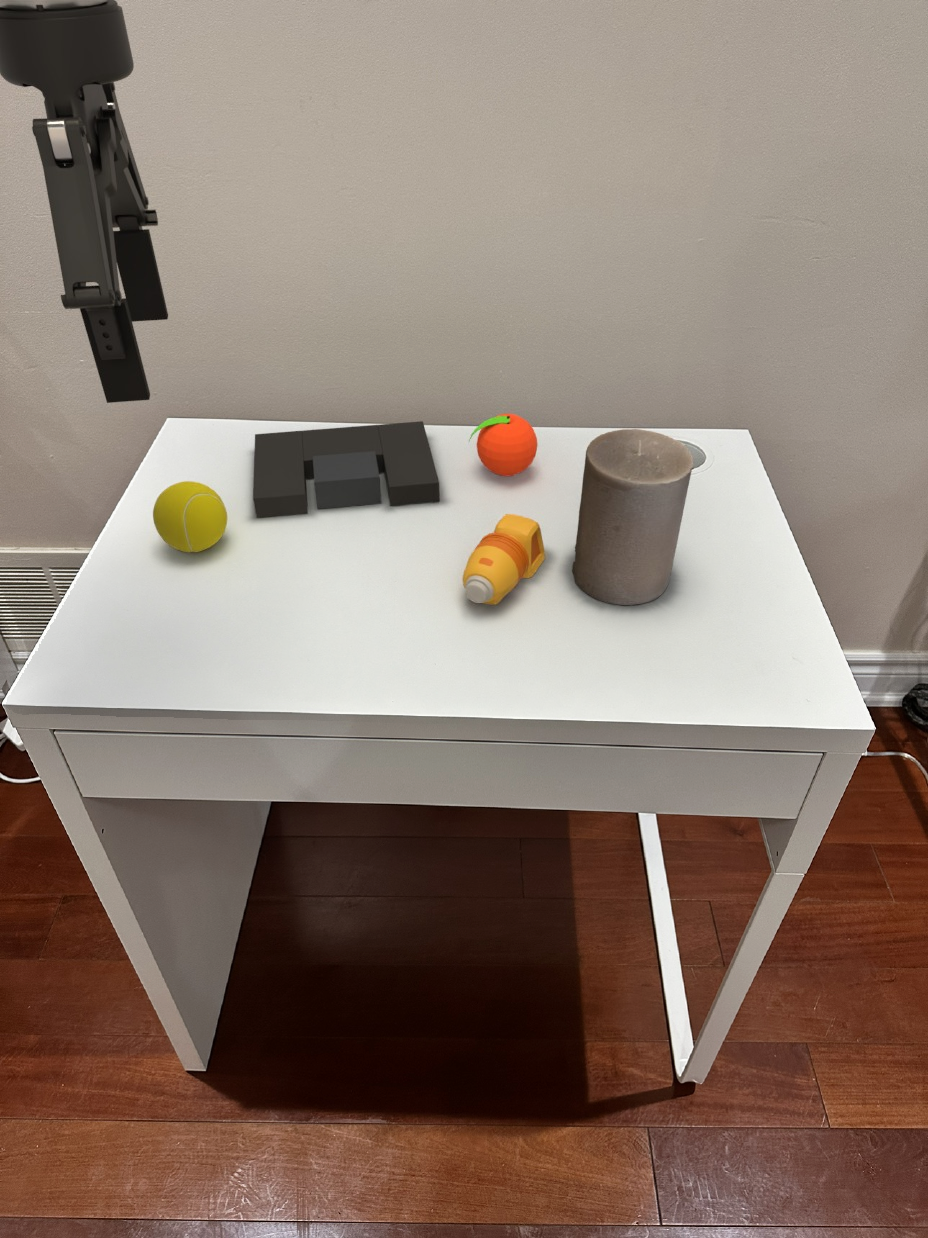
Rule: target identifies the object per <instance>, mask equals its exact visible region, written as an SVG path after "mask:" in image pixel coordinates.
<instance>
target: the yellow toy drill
mask: <svg viewBox="0 0 928 1238" xmlns="http://www.w3.org/2000/svg"><path fill="white" fill-rule="evenodd" d="M545 558H546V552H545V547H544V540H543V535H542V530H541V527H540V523H539V522H537V521H535V520H534V519H532V518H528V517H525V516H522V515H517V514H512V513H505V515H503V516H502V517H501V518H500V520H499V521H498V522H497V524H496V525H495V527H494V531H493V532H491V533H488V534H486V535H484V536H483V537H482V538H481V540H480V541H479V543H478V544H477V545H476V547H474V549H473V550H472V552H471V553H470V555H469V557H468V560H467V562H466V565H465V568H464V571H463V574H462V584H463V587H464V589H465V590H464V591H465V595H466V597H467V598H468V599H469V600H470V601H471V602H473V603H476V604H486V605H491V606H492V605H493V606H495V605H498V604H499V603H500V602H501V601H502V600H503V599H504V598H505V597H506V595H507V594H509V593H510V592H511V591H512V590H514V588H515V587H516V586H517V585H518V583H519V582H520V581H521V580H522V579H530V578H532V577H533V576H534V575H535V574H536V572H537V571H538V570H539V568H540V566H541V565H542V564H543V563H544V561H545V560H546V559H545Z"/></svg>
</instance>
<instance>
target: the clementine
mask: <svg viewBox="0 0 928 1238" xmlns="http://www.w3.org/2000/svg"><path fill="white" fill-rule="evenodd" d="M478 431H479V432H478ZM476 433H478V436H477V440H476V452H477V456H478V458H479V460H480V462H481V463H482V465H483V466H484V467H485V468H486V469H487V470H488V471H490V472H491V473H493V474H496V475H498V476H503V477H512V476H515V475H519V474H520V473H523V472H524V471H526V469H528V468H529V467H530V466H531V464H532V463H533V461H534V460H535V457H536V455H537V450H538V438H537V434H536V432H535V429H534V428H533V427H532V425H531V424H530V423H529V422H528V421H527V420H526V419H525V418H522V417H521V416H520V415H518V414H517V415H516V414H513V413H501V414H498V415H496V416H494V417H491V418H488V419H487V420H485V421H483V422H481V423H480V424H479V425H478V426H477V427H476V428H475V429H474V430H473V431H472V433H471V434H470V437H469V439H468V442H470V441H471V439H472V437H473V436H474V435H475V434H476Z"/></svg>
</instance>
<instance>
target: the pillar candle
mask: <svg viewBox="0 0 928 1238" xmlns="http://www.w3.org/2000/svg"><path fill="white" fill-rule="evenodd" d="M585 450H586V451H585V459H584V467H583V474H582V484H581V494H580V502H579V510H578V522H577V531H576V538H575V545H574V561H573V563H572V567H571V573H572V576H573V578H574V582H575V584H576V585H577V586H578V587H579V588H580V590H582V591H583V592H584V593H586V594H587V595H589V596H591V597H592V598H594V599H596V600H599V601H600V602H605V603H608V604H615V605H620V606H621V605H622V606H635V605H642V604H646V603H649V602H651V601H653V600H657V599H658V598H659V597H660V596H662V595H663V594H664V593H665V592H666V590H667V588H668V586H669V584H670V578H671V574H672V570H673V569H672V568H673V565H674V559H675V556H676V555H675V554H676V550H677V545H678V542H679V535H680V531H681V526H682V521H683V516H684V509H685V506H686V502H687V501H686V500H687V495H688V489H689V485H690V481H691V475H692V472H693V468H694V461H695V460H694V457H693V455H692V453H691V451H690V450H689V449H688V447H687V445H686V444H685V443H684V442H682V441H681V440H678V439H677V440H676V439H674V438H673V437H671V436H668V435H665V434H663V433H660V432H657V431H652V430H646V429H639V428H627V429H626V428H623V429H617V430H612V431H608V432H605V433H602V434H599V435H598V436H597V437H595V438H594V439H592V440H591V441H590V443H589V444H588V446H587V447H586V449H585Z"/></svg>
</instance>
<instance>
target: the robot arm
mask: <svg viewBox="0 0 928 1238" xmlns="http://www.w3.org/2000/svg"><path fill="white" fill-rule="evenodd" d="M133 71H134V58H133V53H132V49H131V43H130V39H129V35H128V29H127V25H126V20H125V16H124V11H123V7H122V6H120V5H118V1H116V0H0V76H1V77H2V78H3V79H4V80H5V81H6V82H7V83H9V84H11V85H15V86H18V87H22V88H29V87H34V88H35V89H37V90H39V91H40V92H41V95H42V97H43V98H44V100H43V104H44V109H45V114H46V117H45V118H33V119H32V127H31V130H32V134H33V136H34V138H35V141H36V145H37V150H38V153H39V157H40V161H41V165H42V171H43V175H44V181H45V186H46V192H47V198H48V204H49V210H50V215H51V216H50V217H51V220H52V227H53V233H54V238H55V245H56V249H57V255H58V261H59V266H60V273H61V278H62V283H63V289H64V294H60V299H61V303H62V306H63V308H64V309H65V310H77V309H78V310H79V311H80V315H81V318H82V321H83V325H84V328H85V332H86V335H87V339H88V343H89V347H90V349H91V353H92V356H93V360H94V362H95V366H96V369H97V370H96V371H97V373H98V377H99V380H100V384H101V387H102V391H103V394H104V397H105V400H106V403H107V404H112V403H125V402H127V403H128V402H138V401H139V402H140V401H141V402H142V401H149V400H150V398H151V391H150V388H149V384H148V380H147V379H148V378H147V376H146V371H145V368H144V363H143V360H142V355H141V352H140V349H139V344H138V339H137V336H136V332H135V328H134V324H133V323H135V322H148V321H164V320H165V321H167V320H168V319H169V313H168V308H167V304H166V303H167V302H166V299H165V294H164V290H163V286H162V281H161V276H160V272H159V268H158V263H157V259H156V254H155V250H154V249H155V248H154V245H153V241H152V237H151V232H150V229H149V228H146V229H143V227H157V226H159V219H158V214H157V213H158V212H157V210H156V209H149V204H150V202H149V197H148V196H147V195H146V191H145V188H144V185H143V182H142V177H141V175H140V172H139V168H138V166H137V163H136V159H135V155H134V153H133V149H132V146H131V143H130V139H129V137H128V134H127V130H126V127H125V124H124V121H123V117H122V114H121V111H120V106H119V103H118V99H117V94H116V85H115V82H119V81H122V80H124V79H126V78H128V77H130V75H132V73H133ZM115 228H116V229H117V228H119V229H118V230H114V229H115ZM119 278H120V280H119ZM120 281H121V286H122V288H123V293H124V296H125V298H123V296H122V292H121V290H120ZM87 283H96V284H97V285H87Z"/></svg>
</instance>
